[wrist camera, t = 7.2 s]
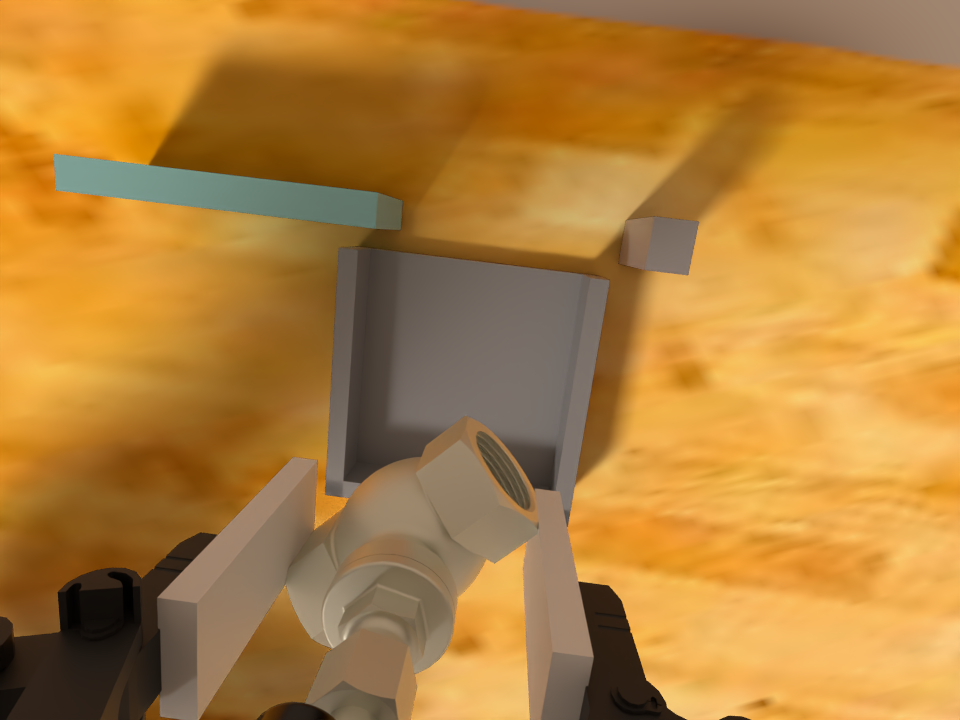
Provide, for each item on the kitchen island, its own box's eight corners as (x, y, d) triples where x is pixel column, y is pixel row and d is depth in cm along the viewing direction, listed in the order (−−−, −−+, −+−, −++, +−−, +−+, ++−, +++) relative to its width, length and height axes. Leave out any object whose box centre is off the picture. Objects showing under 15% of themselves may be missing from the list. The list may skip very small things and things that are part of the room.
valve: (568, 516, 17) (696, 1095, 6) (414, 622, 18) (254, 1281, 7) (437, 359, 16) (264, 666, 5) (283, 482, 18) (-162, 969, 6)
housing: (609, 503, 34) (630, 559, 28) (343, 469, 34) (309, 516, 28) (661, 224, 30) (698, 221, 24) (360, 188, 30) (325, 177, 24)
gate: (400, 230, 30) (375, 228, 25) (141, 199, 31) (55, 190, 25) (403, 201, 30) (377, 192, 24) (140, 169, 30) (53, 153, 25)
